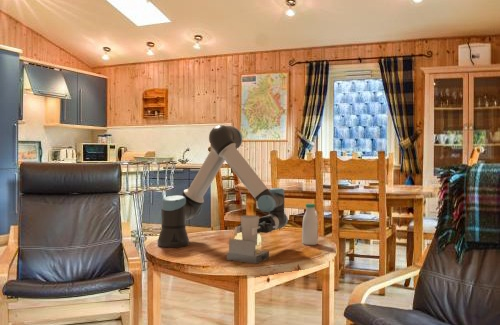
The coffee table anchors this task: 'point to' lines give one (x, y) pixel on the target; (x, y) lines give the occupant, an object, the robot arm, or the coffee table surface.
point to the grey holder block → (245, 252)
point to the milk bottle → (310, 226)
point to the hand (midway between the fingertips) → (244, 231)
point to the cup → (249, 227)
